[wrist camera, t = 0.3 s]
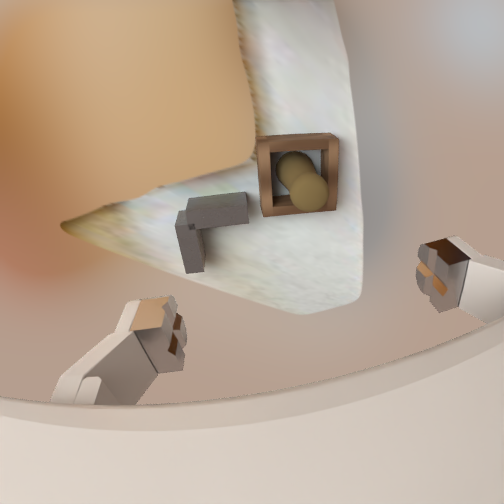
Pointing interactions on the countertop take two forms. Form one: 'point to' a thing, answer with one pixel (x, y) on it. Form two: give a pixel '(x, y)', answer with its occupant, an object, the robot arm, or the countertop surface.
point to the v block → (206, 224)
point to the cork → (302, 181)
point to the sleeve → (294, 143)
